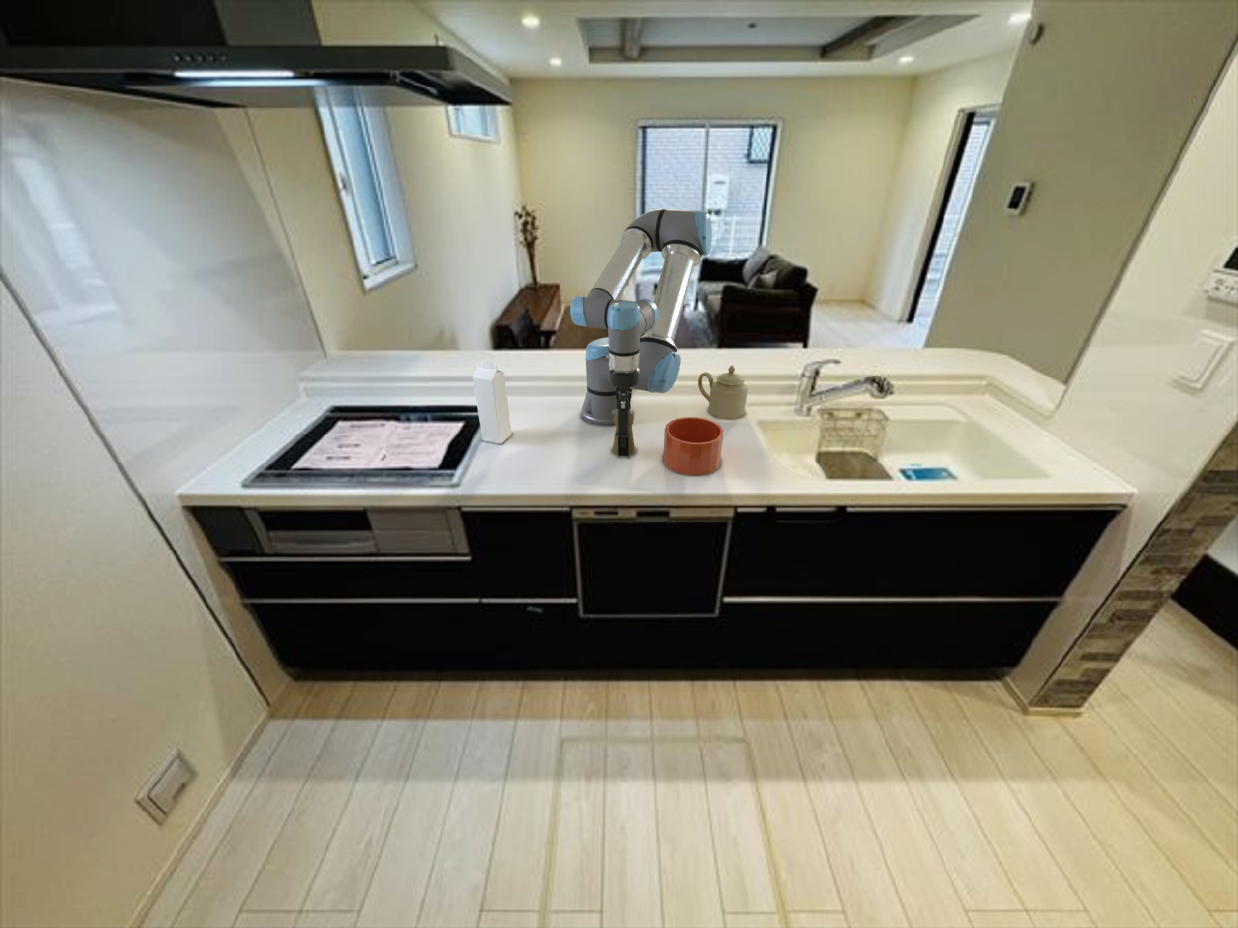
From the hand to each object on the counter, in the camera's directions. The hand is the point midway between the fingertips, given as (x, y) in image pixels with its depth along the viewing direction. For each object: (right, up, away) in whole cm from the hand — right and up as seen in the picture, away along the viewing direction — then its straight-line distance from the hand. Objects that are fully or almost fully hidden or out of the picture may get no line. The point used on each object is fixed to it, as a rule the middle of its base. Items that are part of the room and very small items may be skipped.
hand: (623, 449), depth 139 cm
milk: (-36, +3, +7) cm, 37 cm away
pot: (+18, -3, -4) cm, 18 cm away
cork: (0, 0, 0) cm, 1 cm away
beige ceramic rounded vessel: (+30, +12, +21) cm, 39 cm away
